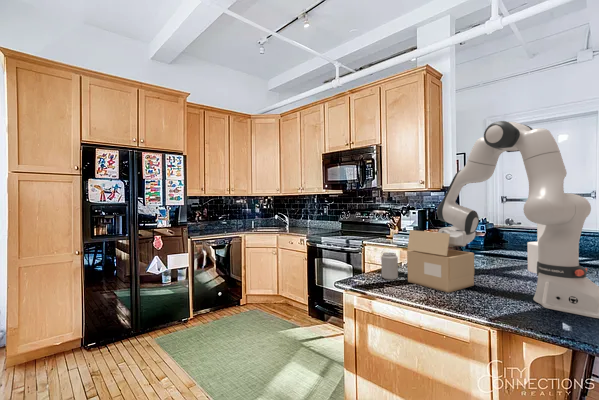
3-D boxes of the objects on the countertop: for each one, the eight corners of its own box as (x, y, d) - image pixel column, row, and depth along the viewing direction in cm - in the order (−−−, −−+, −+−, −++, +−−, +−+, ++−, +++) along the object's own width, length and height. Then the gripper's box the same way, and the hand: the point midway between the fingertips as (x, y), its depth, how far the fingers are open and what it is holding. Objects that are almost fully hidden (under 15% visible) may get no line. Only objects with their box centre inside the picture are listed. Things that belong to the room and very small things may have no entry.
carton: (476, 285, 134) (475, 253, 134) (449, 293, 124) (448, 258, 124) (432, 275, 152) (432, 246, 152) (406, 281, 143) (405, 250, 142)
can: (394, 281, 144) (394, 255, 144) (379, 278, 148) (378, 253, 148) (400, 277, 150) (399, 252, 150) (385, 275, 154) (384, 251, 154)
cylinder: (555, 268, 162) (554, 214, 162) (582, 276, 145) (581, 216, 145) (520, 267, 164) (519, 214, 164) (542, 276, 147) (541, 216, 146)
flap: (449, 233, 126) (449, 233, 126) (447, 256, 125) (446, 255, 125) (410, 230, 143) (410, 229, 143) (408, 249, 142) (407, 249, 141)
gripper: (427, 228, 150) (408, 230, 143) (469, 231, 133) (449, 234, 126) (428, 241, 151) (408, 243, 144) (469, 246, 133) (449, 249, 126)
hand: (427, 239), depth 135 cm, fingers closed, pressing on flap
